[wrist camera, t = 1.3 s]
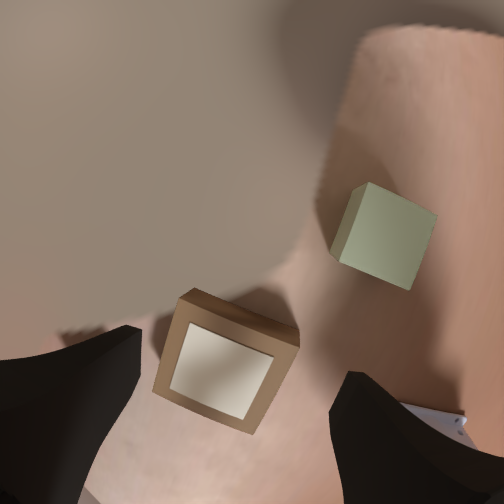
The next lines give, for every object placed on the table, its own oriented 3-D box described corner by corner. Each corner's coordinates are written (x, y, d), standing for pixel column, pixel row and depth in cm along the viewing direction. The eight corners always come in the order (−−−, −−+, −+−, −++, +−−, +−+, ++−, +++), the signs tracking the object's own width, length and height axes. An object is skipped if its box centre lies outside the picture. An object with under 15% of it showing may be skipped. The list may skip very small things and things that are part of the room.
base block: (299, 330, 20) (299, 348, 17) (258, 412, 21) (252, 435, 18) (194, 287, 21) (178, 298, 18) (167, 373, 22) (151, 392, 19)
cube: (409, 216, 18) (437, 215, 14) (386, 276, 19) (409, 290, 14) (352, 190, 19) (368, 181, 14) (328, 252, 19) (338, 261, 15)
